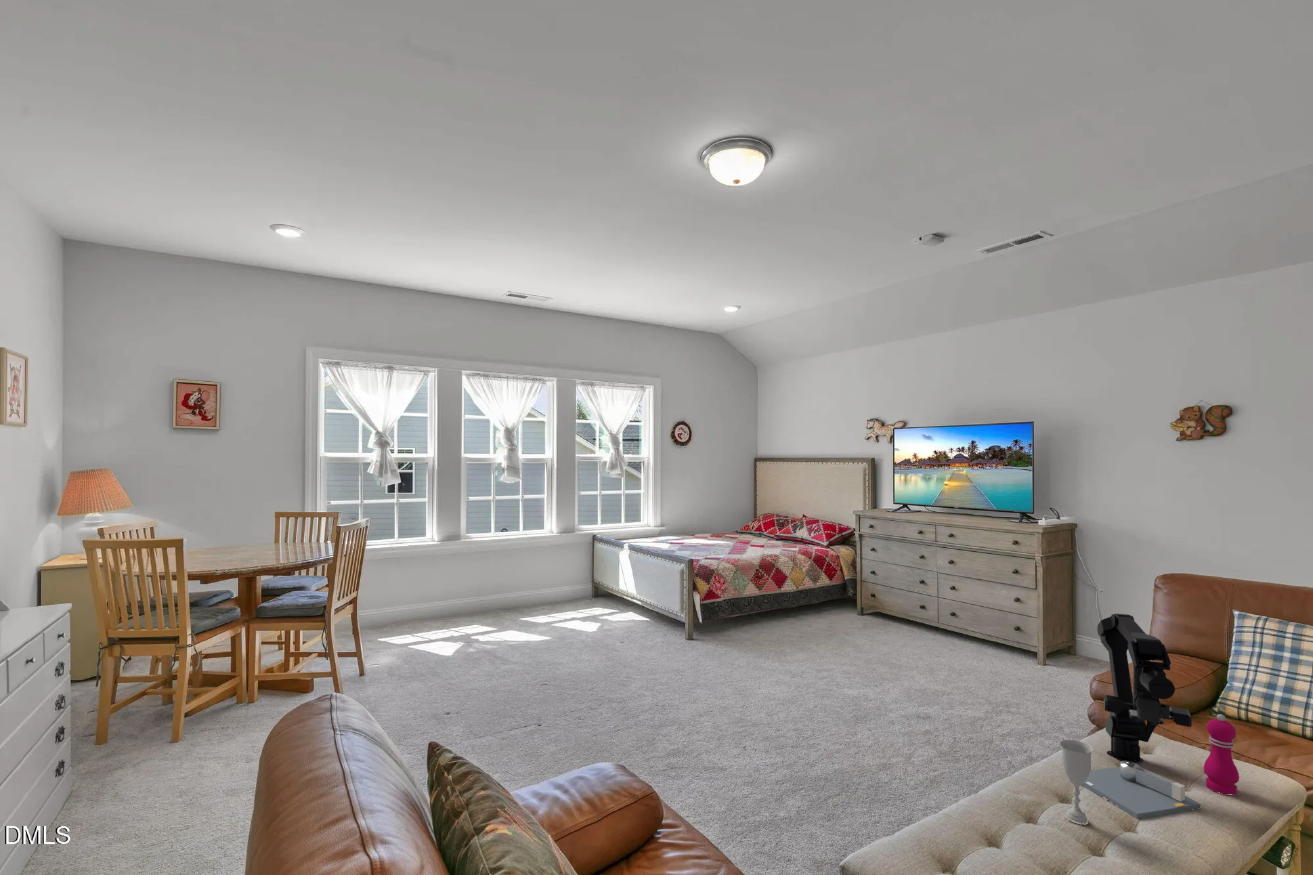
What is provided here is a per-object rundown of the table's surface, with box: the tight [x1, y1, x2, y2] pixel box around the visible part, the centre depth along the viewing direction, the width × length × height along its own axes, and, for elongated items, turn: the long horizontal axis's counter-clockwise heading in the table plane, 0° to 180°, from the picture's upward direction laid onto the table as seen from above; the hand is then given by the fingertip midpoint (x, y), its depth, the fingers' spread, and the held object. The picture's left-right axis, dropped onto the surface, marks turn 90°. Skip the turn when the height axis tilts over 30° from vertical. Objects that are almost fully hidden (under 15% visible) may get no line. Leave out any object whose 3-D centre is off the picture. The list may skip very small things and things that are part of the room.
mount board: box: [1081, 766, 1202, 820], centre depth 173 cm, size 20×20×1 cm
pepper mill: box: [1203, 714, 1240, 795], centre depth 174 cm, size 7×7×20 cm
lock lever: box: [1119, 760, 1186, 802], centre depth 173 cm, size 15×4×4 cm, turn 25°
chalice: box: [1059, 739, 1094, 824], centre depth 160 cm, size 7×7×18 cm
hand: (1145, 741), depth 177 cm, fingers closed
